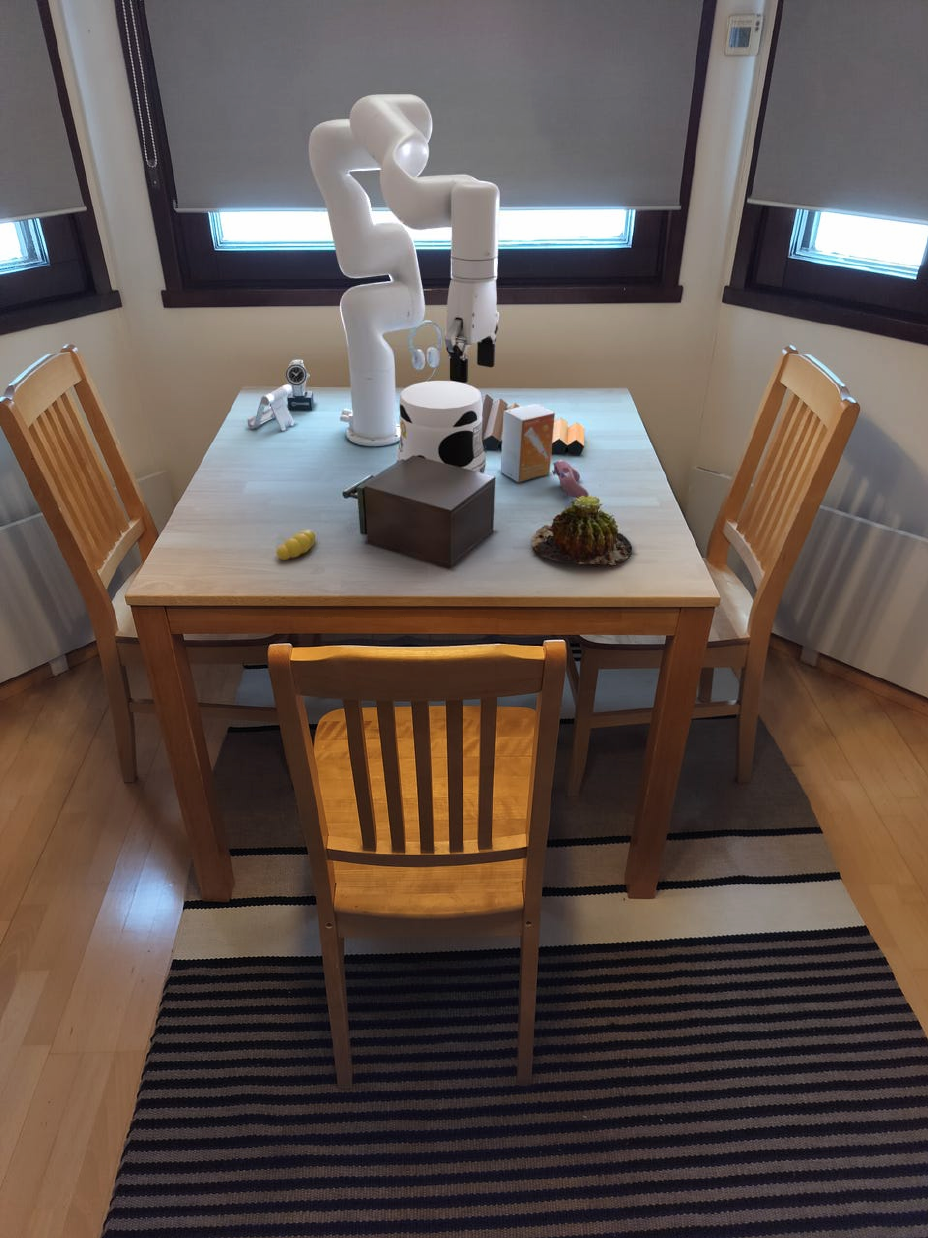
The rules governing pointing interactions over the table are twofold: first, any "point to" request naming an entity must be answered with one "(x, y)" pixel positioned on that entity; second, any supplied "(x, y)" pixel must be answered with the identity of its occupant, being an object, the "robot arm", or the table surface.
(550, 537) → the cactus
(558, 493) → the table surface
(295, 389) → the watch
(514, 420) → the small box
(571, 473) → the video game controller
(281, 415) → the tablet stand
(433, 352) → the headphones
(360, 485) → the drawer
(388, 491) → the cabinet
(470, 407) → the milk container
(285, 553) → the yellow caterpillar toy
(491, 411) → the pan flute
